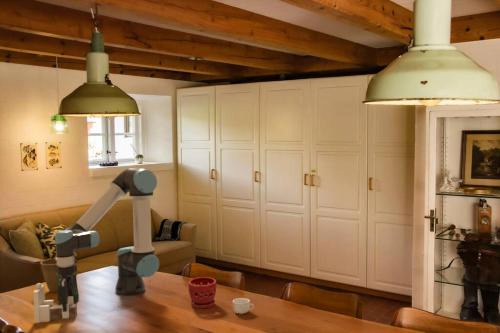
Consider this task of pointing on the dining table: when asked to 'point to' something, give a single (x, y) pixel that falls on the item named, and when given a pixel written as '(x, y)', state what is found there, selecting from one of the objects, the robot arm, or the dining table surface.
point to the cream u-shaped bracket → (41, 304)
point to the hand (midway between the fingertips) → (68, 314)
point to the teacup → (241, 305)
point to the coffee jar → (73, 285)
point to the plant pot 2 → (202, 292)
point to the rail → (57, 312)
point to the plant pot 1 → (50, 274)
